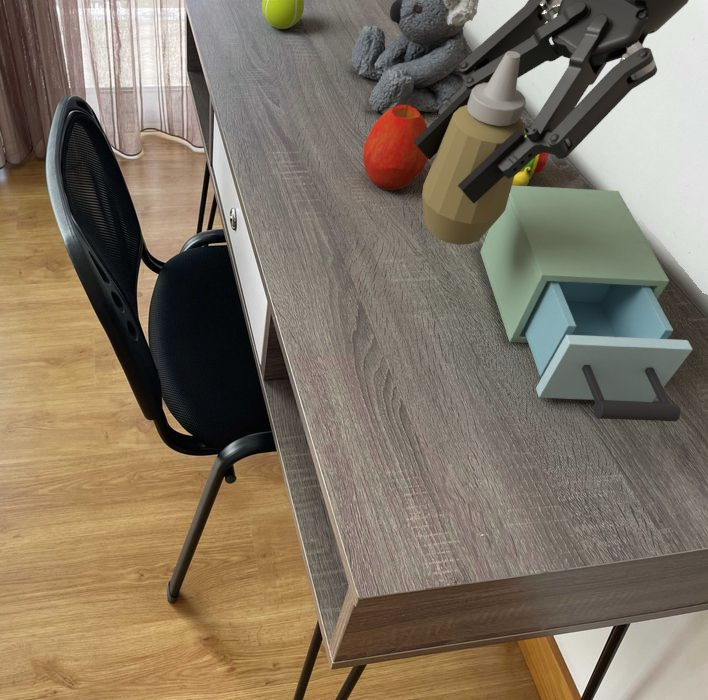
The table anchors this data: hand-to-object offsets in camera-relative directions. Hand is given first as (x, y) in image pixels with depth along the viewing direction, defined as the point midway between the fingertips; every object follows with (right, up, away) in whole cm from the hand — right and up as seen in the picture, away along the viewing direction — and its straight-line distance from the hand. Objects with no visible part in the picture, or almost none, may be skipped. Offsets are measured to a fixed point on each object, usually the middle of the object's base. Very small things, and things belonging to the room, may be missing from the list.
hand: (443, 171), depth 67 cm
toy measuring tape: (+19, +10, +34) cm, 40 cm away
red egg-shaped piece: (+1, +6, +29) cm, 30 cm away
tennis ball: (-12, +38, +58) cm, 70 cm away
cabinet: (+16, -10, +16) cm, 25 cm away
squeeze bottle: (+3, -4, +7) cm, 8 cm away
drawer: (+16, -18, +7) cm, 26 cm away
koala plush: (+8, +24, +46) cm, 52 cm away
